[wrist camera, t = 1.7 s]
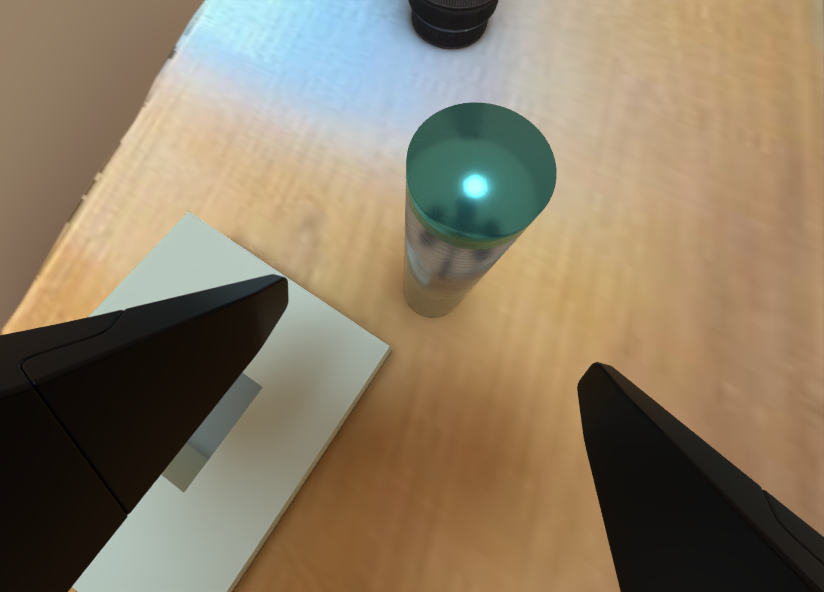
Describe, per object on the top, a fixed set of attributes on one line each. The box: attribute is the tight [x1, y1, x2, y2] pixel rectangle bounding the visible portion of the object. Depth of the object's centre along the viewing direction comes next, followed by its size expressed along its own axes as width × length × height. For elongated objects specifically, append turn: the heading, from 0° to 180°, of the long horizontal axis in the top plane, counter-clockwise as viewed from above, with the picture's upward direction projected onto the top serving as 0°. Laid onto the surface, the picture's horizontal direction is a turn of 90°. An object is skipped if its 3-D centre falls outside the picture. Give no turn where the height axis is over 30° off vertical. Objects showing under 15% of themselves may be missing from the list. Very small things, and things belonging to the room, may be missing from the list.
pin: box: [404, 103, 556, 318], centre depth 14 cm, size 4×4×13 cm
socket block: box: [72, 211, 392, 592], centre depth 16 cm, size 16×14×4 cm
